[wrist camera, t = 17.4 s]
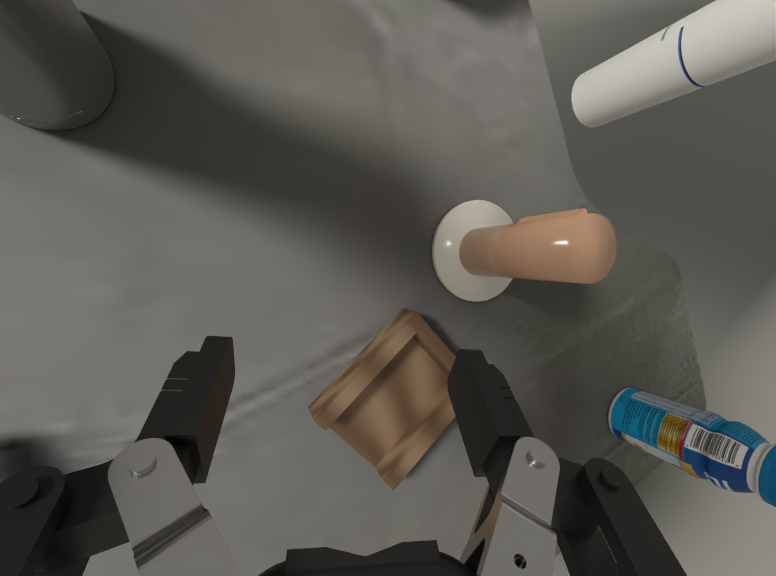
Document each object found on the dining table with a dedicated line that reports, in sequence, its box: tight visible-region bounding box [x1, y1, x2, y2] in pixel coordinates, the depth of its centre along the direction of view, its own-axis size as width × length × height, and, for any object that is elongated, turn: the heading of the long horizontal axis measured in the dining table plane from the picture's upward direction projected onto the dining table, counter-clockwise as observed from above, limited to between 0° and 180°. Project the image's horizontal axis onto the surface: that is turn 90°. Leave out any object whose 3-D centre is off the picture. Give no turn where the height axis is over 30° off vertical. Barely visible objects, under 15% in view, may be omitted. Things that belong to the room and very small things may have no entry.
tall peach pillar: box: [459, 208, 617, 284], centre depth 36 cm, size 8×6×15 cm
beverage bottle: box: [608, 388, 776, 507], centre depth 46 cm, size 8×8×20 cm
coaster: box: [432, 200, 514, 302], centre depth 43 cm, size 12×12×1 cm
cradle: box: [309, 308, 456, 490], centre depth 39 cm, size 14×12×4 cm
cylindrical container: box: [571, 0, 776, 128], centre depth 37 cm, size 7×7×25 cm
